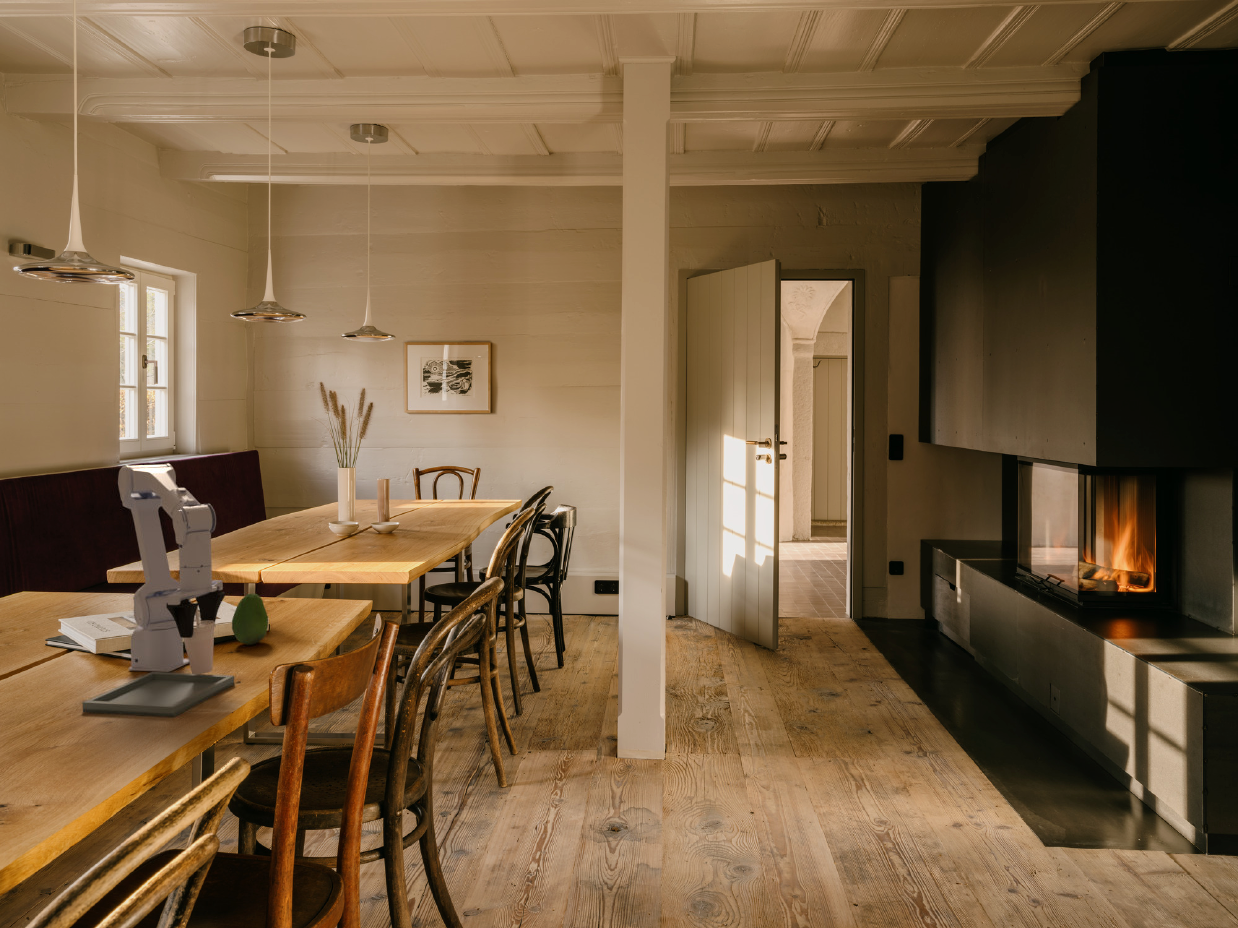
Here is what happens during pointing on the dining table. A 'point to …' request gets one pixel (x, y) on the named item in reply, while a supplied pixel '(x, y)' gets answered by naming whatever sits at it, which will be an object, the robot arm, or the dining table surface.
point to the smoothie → (201, 646)
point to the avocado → (250, 620)
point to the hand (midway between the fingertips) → (197, 632)
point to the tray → (159, 694)
